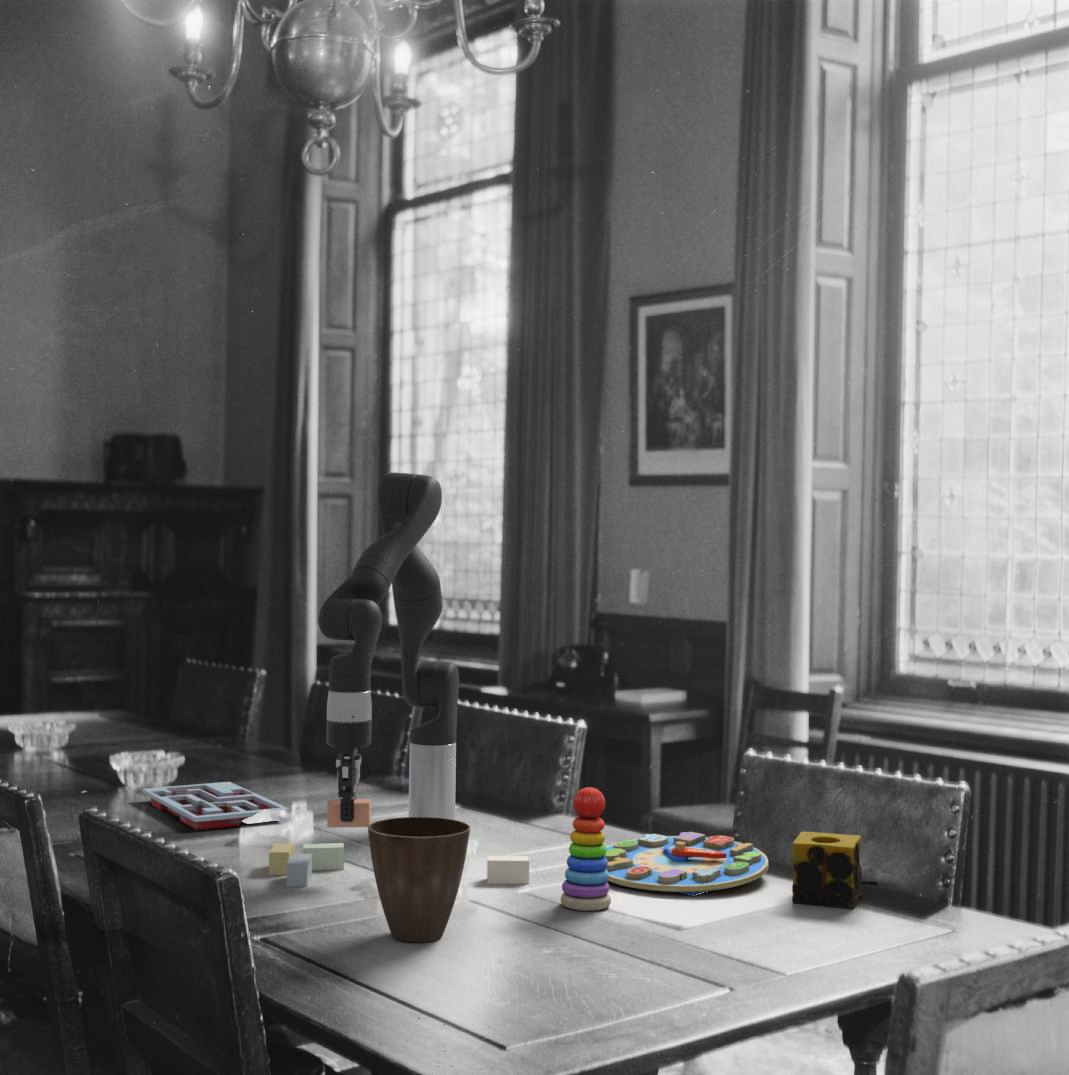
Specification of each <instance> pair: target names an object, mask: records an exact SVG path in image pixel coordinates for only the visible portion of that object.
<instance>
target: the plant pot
mask: <svg viewBox="0 0 1069 1075" xmlns="http://www.w3.org/2000/svg"><path fill="white" fill-rule="evenodd" d="M367 830H368V832H367V834H368V840H369V842H368V843H369V849H370V857H371V862H372V869H373V873H374V874H373V875H374V878H375V883H376V888H377V891H378V892H377V893H378V896H379V900H380V903H381V907H382V910H383V913H384V918H385V921H386V923H387V926H388V928H389V931H390V933H391V936H392V938H393V939H395V940H397V941H400V942H406V943H429V942H434V941H437V940H439V939H441V938H442V937H443V935H444V933H445V931H446V927H447V925H448V922H449V920H450V918H451V914H452V911H453V909H454V905H455V902H456V899H457V895H458V892H459V888H460V884H461V882H462V877H463V872H464V867H465V862H466V857H467V851H468V846H469V845H468V844H469V838H470V833H471V826H470V825H469V823H466V822H465V821H461V820H456V819H455V820H452V819H445V818H434V817H409V816H407V817H404V816H403V817H402V816H401V817H394V818H385V819H381V820H380V819H379V820H376V821H374V822H371V823H370V825H369V826H368V827H367ZM428 941H429V942H428Z"/></svg>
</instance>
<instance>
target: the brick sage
mask: <svg viewBox="0 0 1069 1075" xmlns="http://www.w3.org/2000/svg"><path fill="white" fill-rule="evenodd" d="M344 844H345V843H344V842H338V843H337V842H335V843H334V842H332V843H330V842H329V843H303V844H302V848H303V849H302V854H312V871H333V870H335V871H336V870H340V871H341V870H344V868H345V845H344Z"/></svg>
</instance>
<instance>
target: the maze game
mask: <svg viewBox="0 0 1069 1075" xmlns="http://www.w3.org/2000/svg"><path fill="white" fill-rule="evenodd" d="M141 794H143V795H145V796H147V797H148V798H150V805H151V804H152V805H153V806H152V805H151V806H152V807H154V806H155V807H154V808H156V807H157V808H158V809H157V808H156V809H157V810H159V809H160V811H167V812H168V813H170V814H172V815H174V816H176V817H178V818H180V819H179V820H180V822H181V823H184V825H187V826H189V827H191V828H193V829H194V830H196V831H200V830H210V829H211V830H212V829H220V828H230V827H238V826H239V827H240V823H242V822H241V820H243V819H245V818H248V817H251V816H253V815H255V814H256V813H258V812H260V811H261V810H264V809H268V810H282V809H285V810H289V811H290V812H291V809H290V808H288V807H286V806H285V805H283V804H280V803H278V802H276V801H274V800H271V799H269V798H267V797H264V796H262V795H261V794H257V793H255V792H253V791H251V790H249V789H247V788H244V787H242V786H240V785H237V784H236V783H233V782H231V781H221V782H211V783H209V782H208V783H199V784H197V783H195V784H184V785H174V786H162V787H160V786H159V787H149V788H142V789H141ZM165 809H166V810H165Z"/></svg>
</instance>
